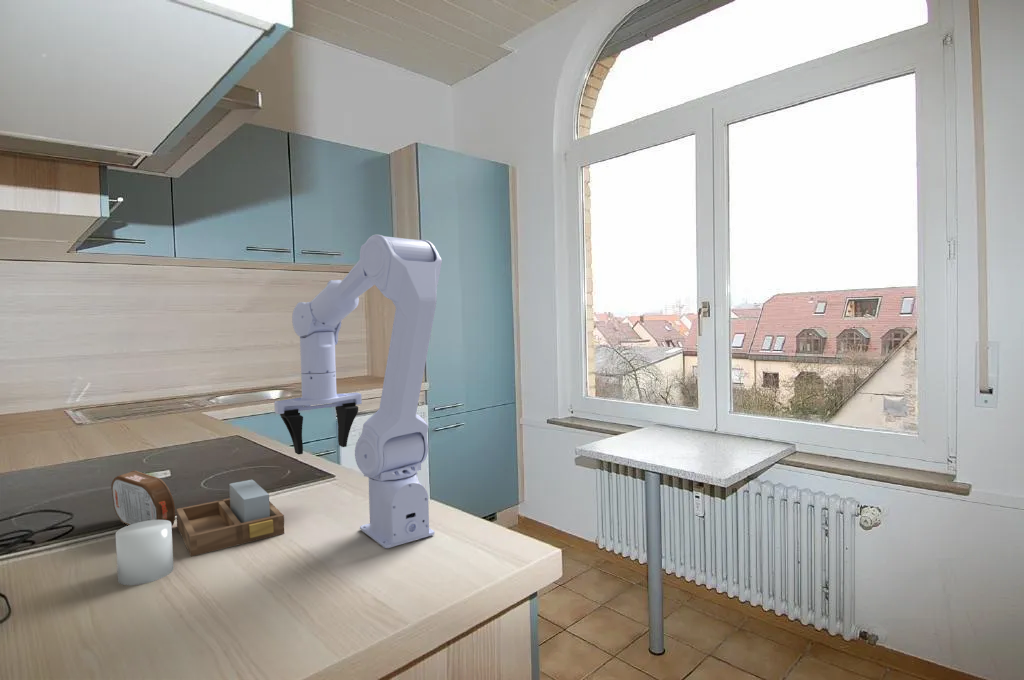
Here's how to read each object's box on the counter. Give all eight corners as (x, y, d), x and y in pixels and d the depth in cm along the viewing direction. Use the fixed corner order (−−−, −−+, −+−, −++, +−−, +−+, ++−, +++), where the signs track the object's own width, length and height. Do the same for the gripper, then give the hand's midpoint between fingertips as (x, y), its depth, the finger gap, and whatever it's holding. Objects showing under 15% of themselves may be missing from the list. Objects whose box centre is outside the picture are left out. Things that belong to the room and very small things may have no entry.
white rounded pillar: (176, 575, 71) (174, 529, 71) (119, 590, 68) (116, 542, 67) (170, 559, 76) (168, 516, 76) (116, 572, 72) (114, 527, 72)
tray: (285, 534, 84) (284, 516, 84) (191, 558, 76) (190, 538, 76) (260, 508, 95) (260, 492, 95) (177, 526, 88) (176, 508, 88)
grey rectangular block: (270, 526, 85) (269, 494, 85) (245, 532, 83) (244, 499, 82) (253, 508, 93) (252, 479, 92) (230, 513, 90) (229, 483, 90)
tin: (178, 534, 85) (175, 479, 84) (156, 541, 82) (153, 485, 82) (130, 516, 93) (128, 466, 92) (109, 522, 90) (106, 471, 90)
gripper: (350, 367, 104) (352, 439, 105) (268, 373, 95) (271, 452, 96) (365, 370, 99) (367, 445, 99) (279, 377, 90) (283, 460, 90)
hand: (321, 449), depth 97 cm, fingers open, 7 cm apart
